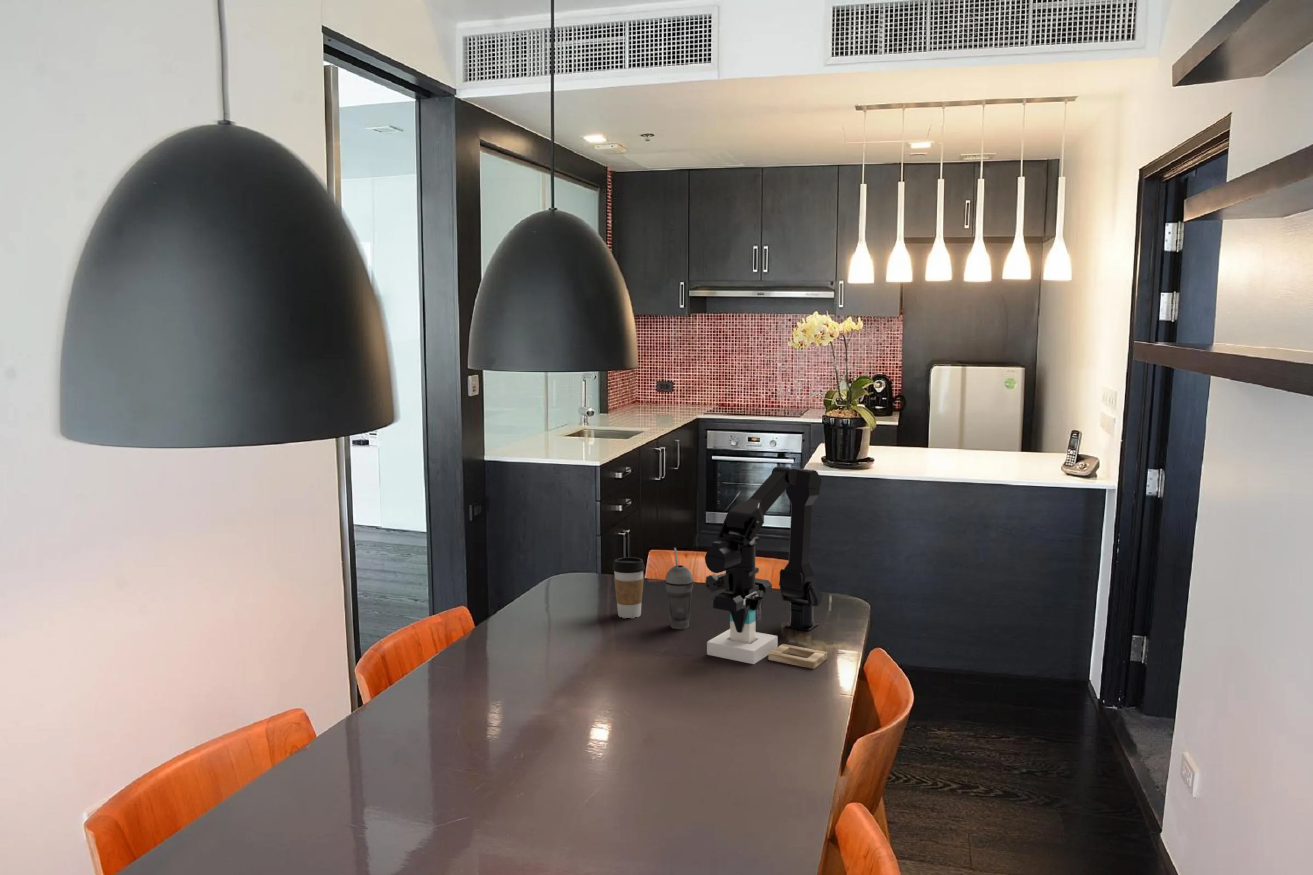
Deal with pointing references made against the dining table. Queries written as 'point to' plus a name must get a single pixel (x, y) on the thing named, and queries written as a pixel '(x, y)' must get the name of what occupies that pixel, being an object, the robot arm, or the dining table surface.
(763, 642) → the port block
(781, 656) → the holster
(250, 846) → the dining table surface
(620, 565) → the coffee cup
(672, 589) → the beverage cup
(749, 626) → the plug
